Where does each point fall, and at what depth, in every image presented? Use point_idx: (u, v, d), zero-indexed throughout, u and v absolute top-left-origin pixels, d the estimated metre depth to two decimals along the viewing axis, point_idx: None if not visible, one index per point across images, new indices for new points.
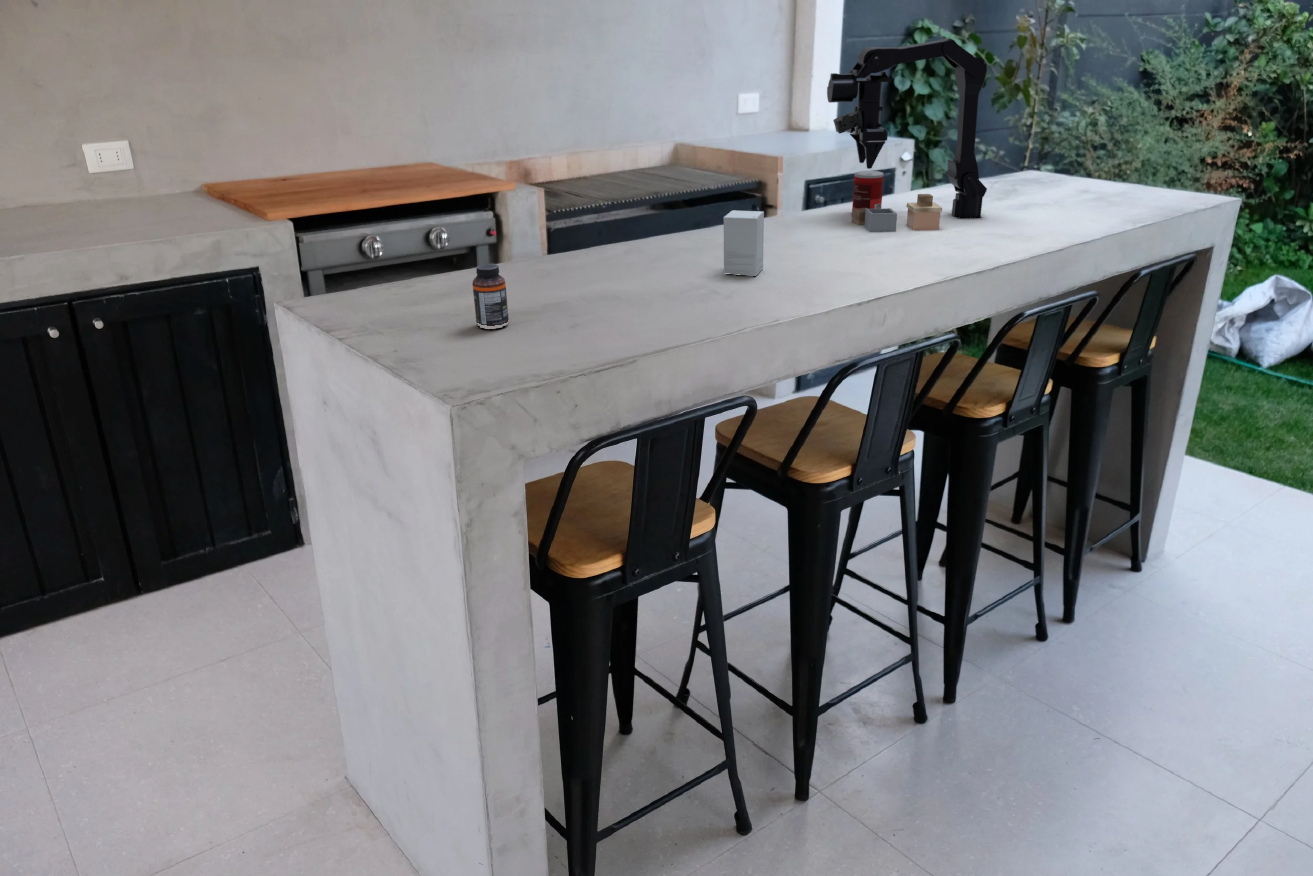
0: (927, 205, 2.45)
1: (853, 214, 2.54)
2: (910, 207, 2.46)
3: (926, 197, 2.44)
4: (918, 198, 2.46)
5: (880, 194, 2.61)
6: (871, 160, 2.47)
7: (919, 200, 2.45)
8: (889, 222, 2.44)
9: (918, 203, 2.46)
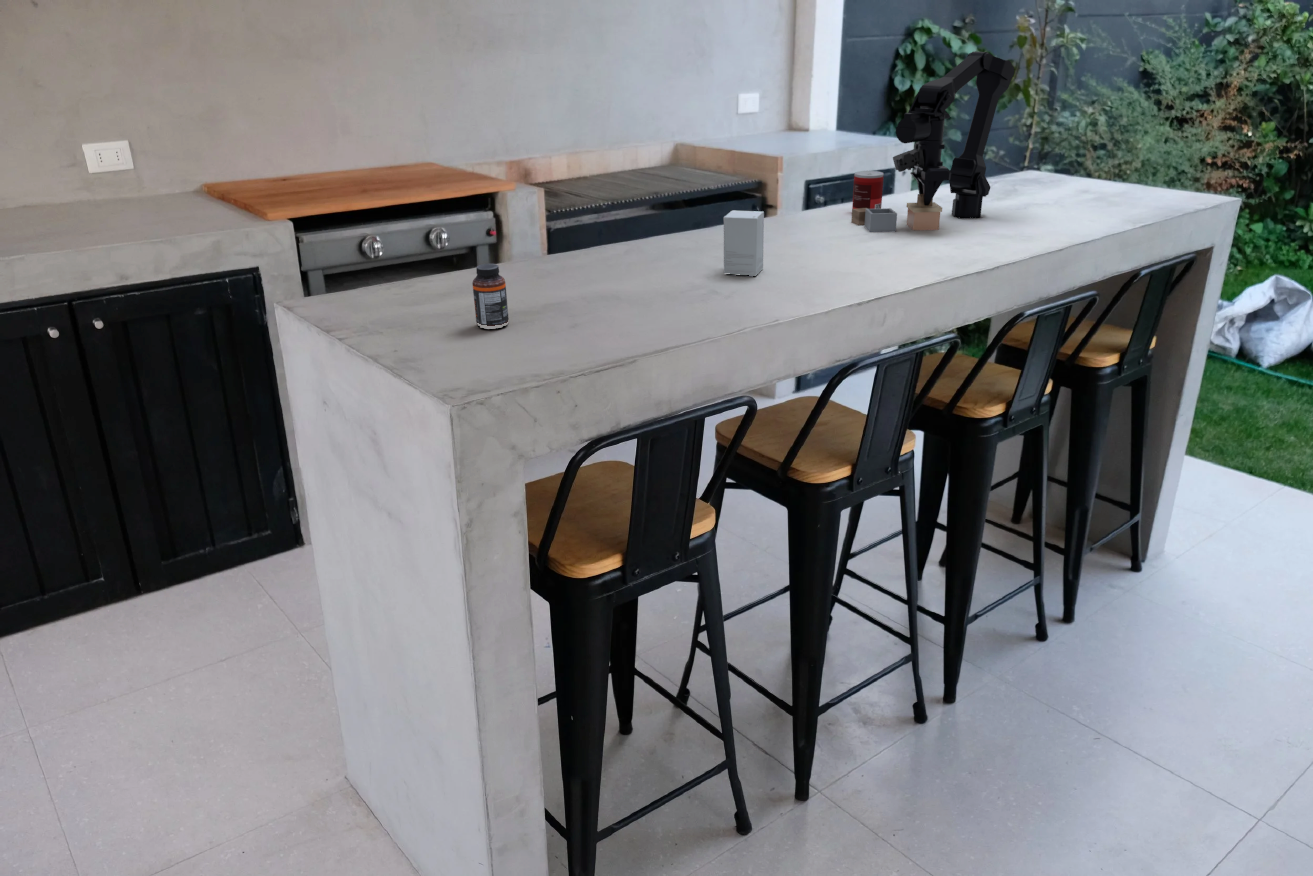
0: (927, 205, 2.45)
1: (853, 214, 2.54)
2: (910, 207, 2.46)
3: None
4: (918, 198, 2.46)
5: (880, 194, 2.61)
6: (929, 197, 2.43)
7: (919, 200, 2.45)
8: (889, 222, 2.44)
9: (918, 203, 2.46)
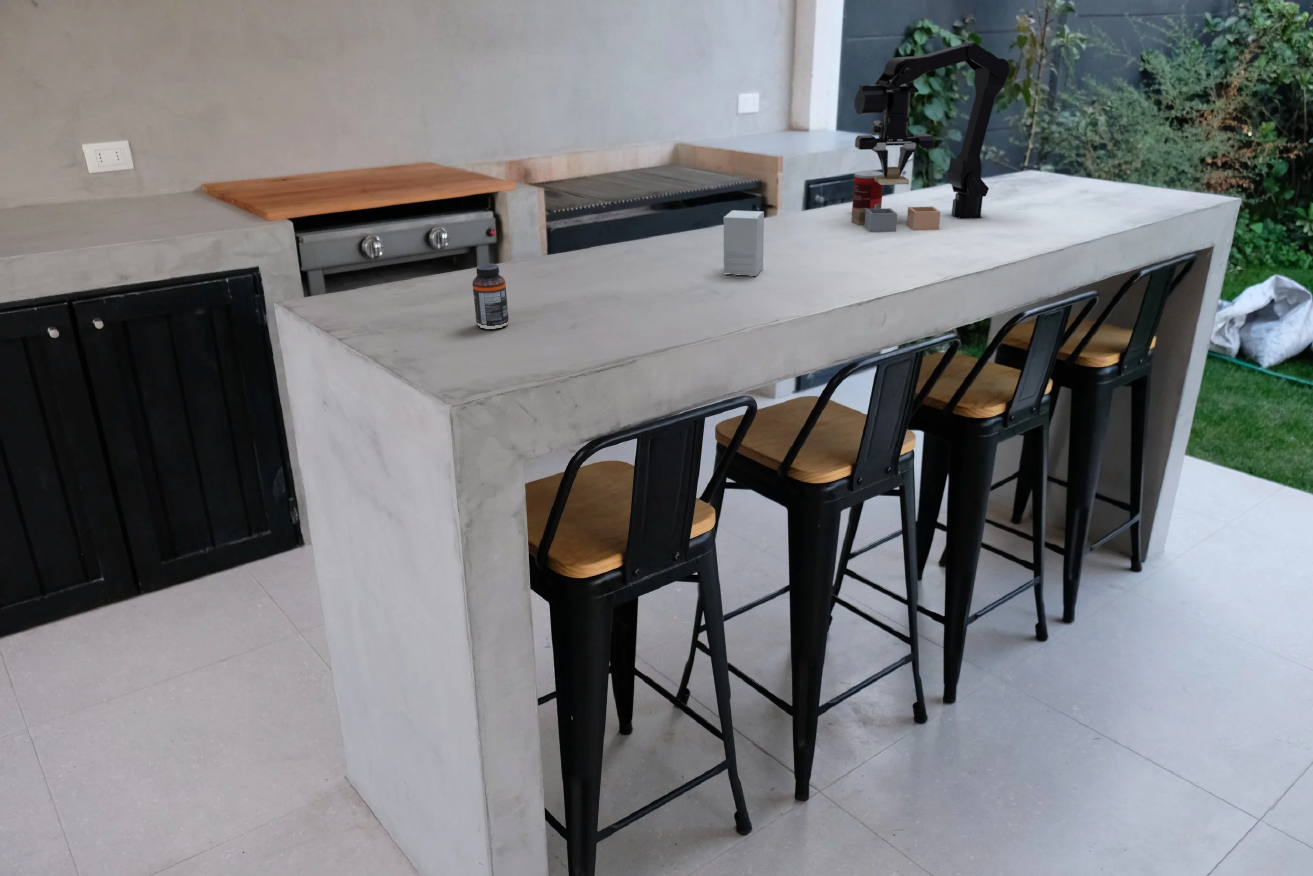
0: (886, 177, 2.50)
1: (853, 214, 2.54)
2: None
3: None
4: None
5: (880, 194, 2.61)
6: (883, 168, 2.49)
7: None
8: (889, 222, 2.44)
9: None
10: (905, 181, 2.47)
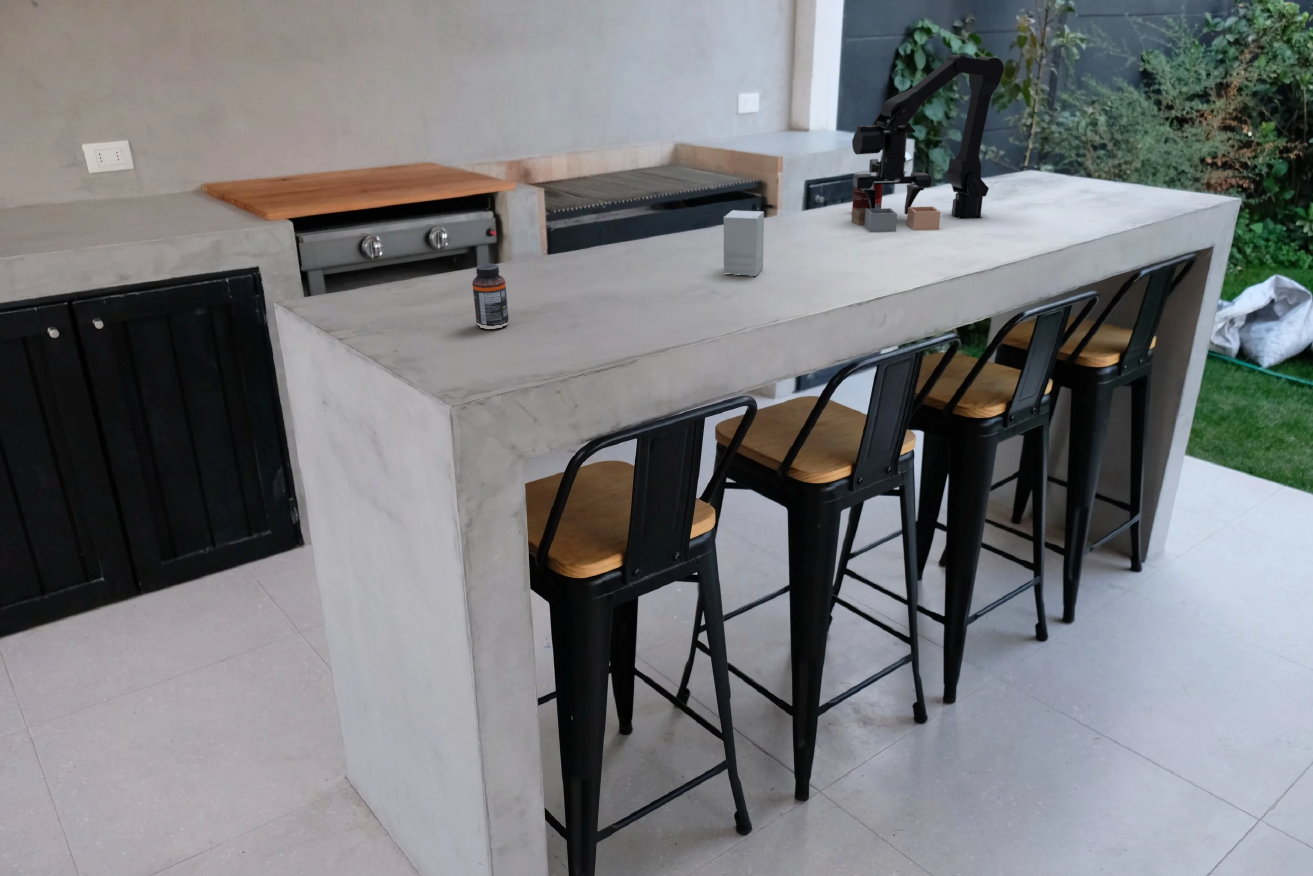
0: None
1: (853, 214, 2.54)
2: None
3: None
4: None
5: (880, 194, 2.61)
6: (870, 207, 2.53)
7: None
8: (889, 222, 2.44)
9: None
10: None
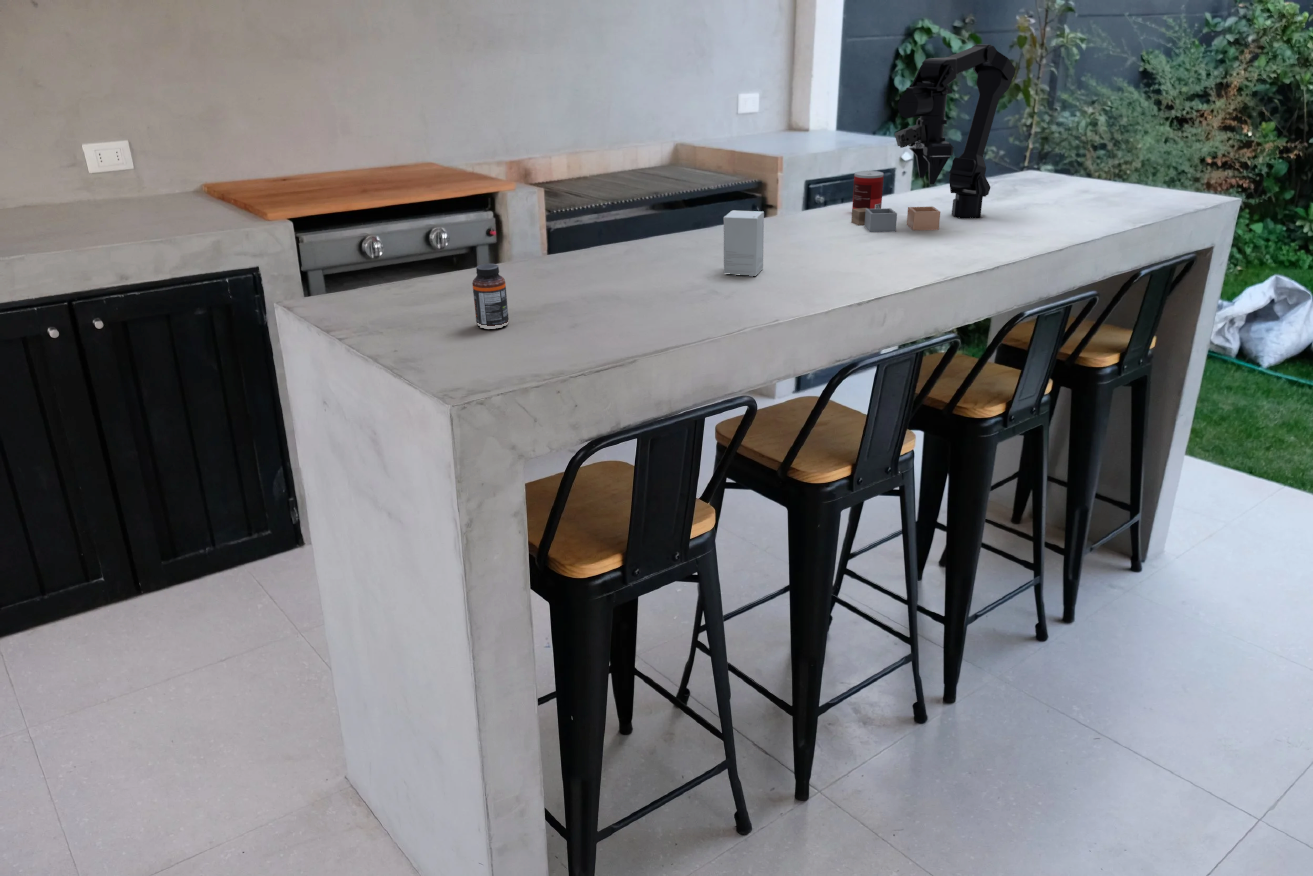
0: None
1: (853, 214, 2.54)
2: None
3: None
4: None
5: (880, 194, 2.61)
6: (934, 175, 2.38)
7: None
8: (889, 222, 2.44)
9: None
10: None
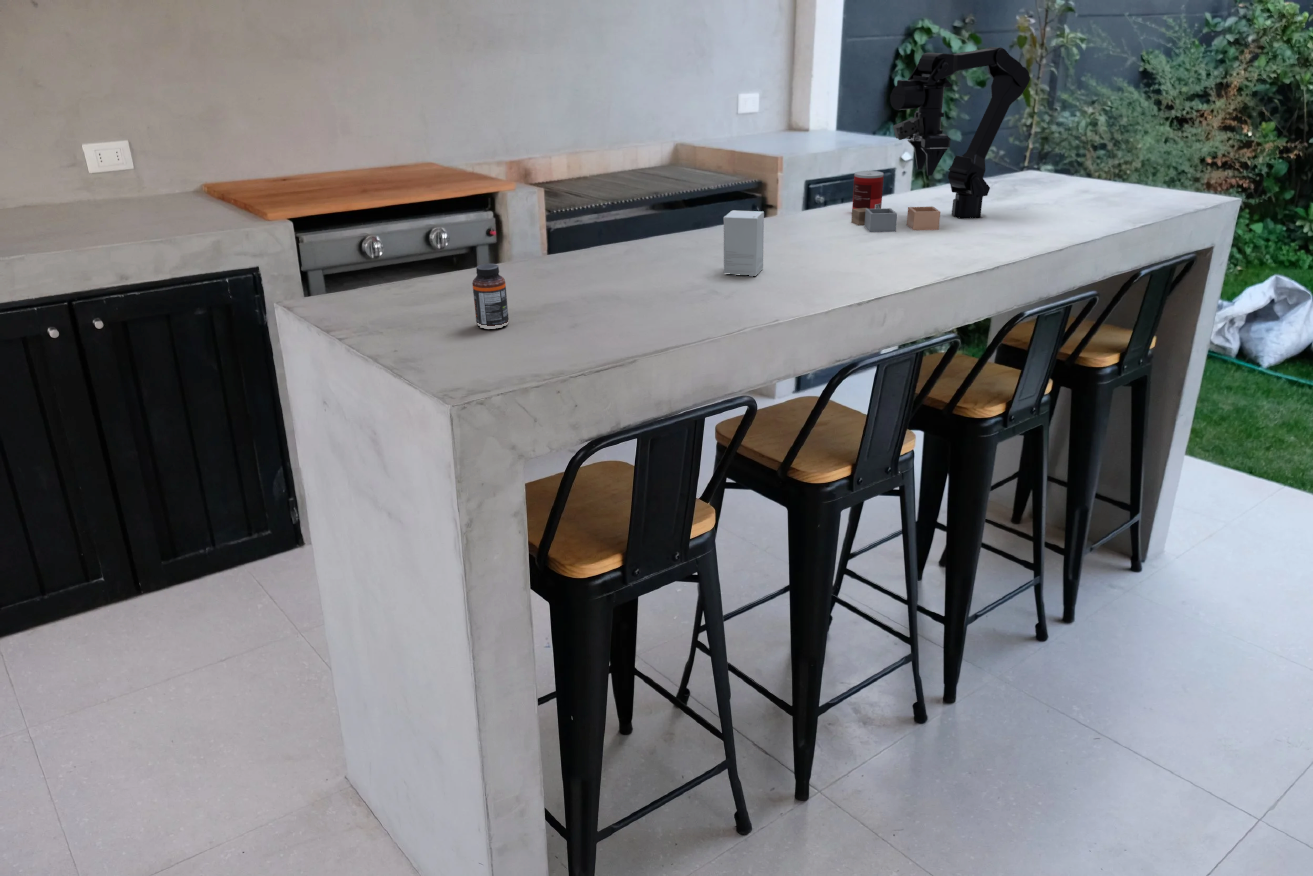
0: None
1: (853, 214, 2.54)
2: None
3: None
4: None
5: (880, 194, 2.61)
6: (932, 167, 2.43)
7: None
8: (889, 222, 2.44)
9: None
10: None
